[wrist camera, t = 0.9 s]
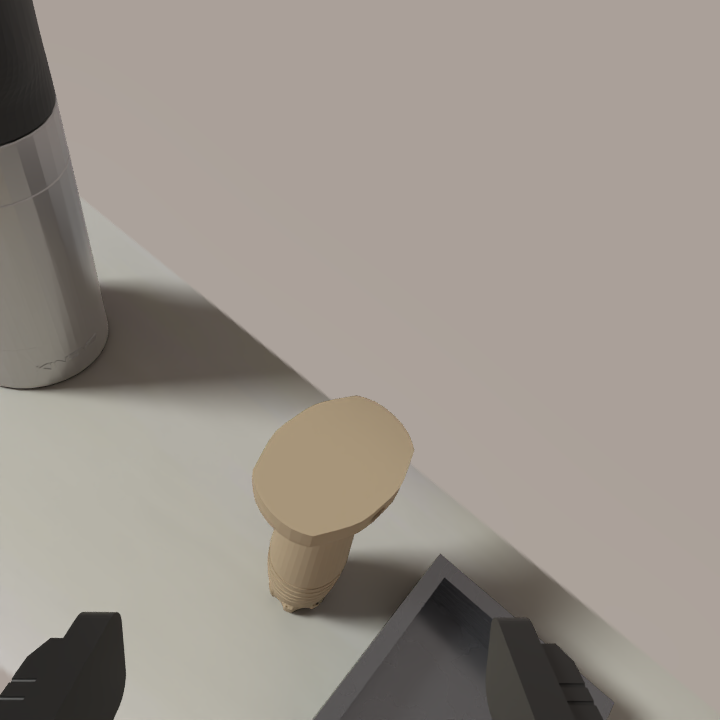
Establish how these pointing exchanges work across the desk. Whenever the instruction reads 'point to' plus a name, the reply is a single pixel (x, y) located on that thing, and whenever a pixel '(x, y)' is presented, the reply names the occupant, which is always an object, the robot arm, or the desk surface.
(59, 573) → the desk surface
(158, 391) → the desk surface
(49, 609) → the desk surface
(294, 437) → the handle
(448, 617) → the grey square tray
